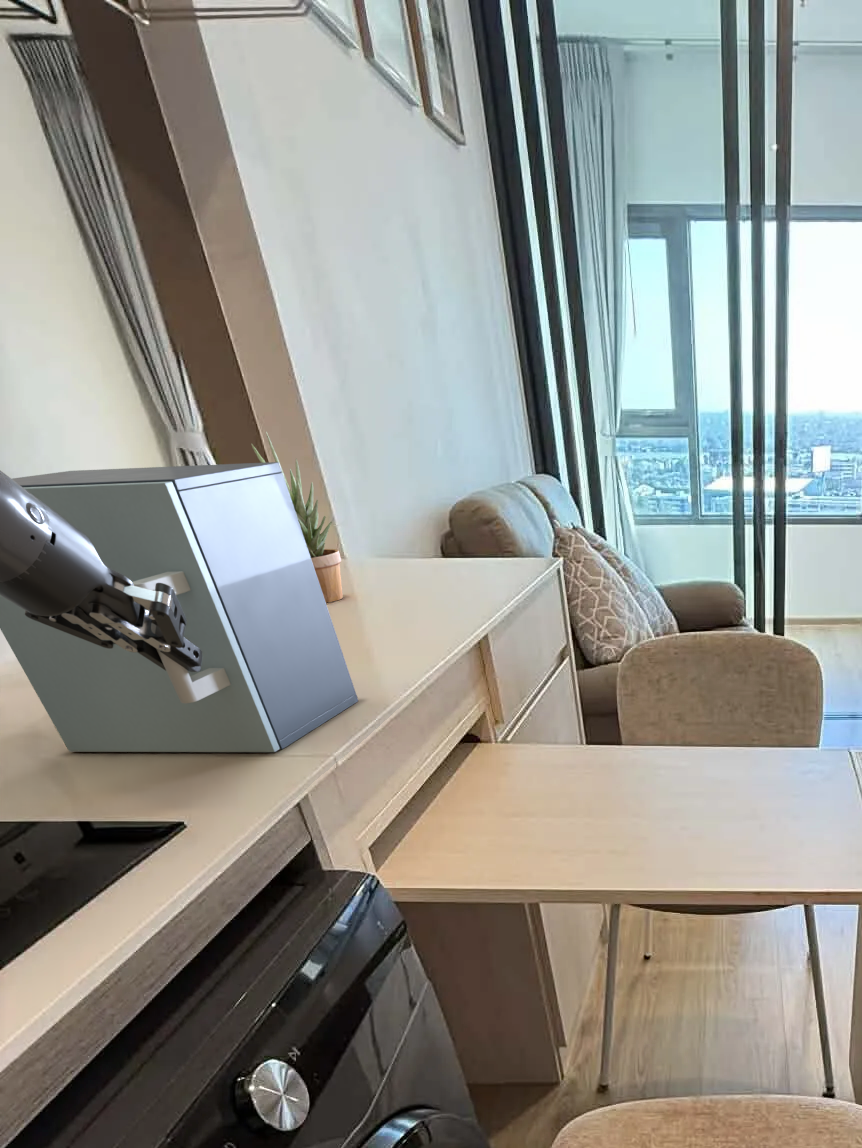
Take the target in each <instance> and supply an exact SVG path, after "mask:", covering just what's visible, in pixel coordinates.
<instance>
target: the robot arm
mask: <svg viewBox="0 0 862 1148" xmlns="http://www.w3.org/2000/svg"><path fill="white" fill-rule="evenodd" d="M0 595H1V596H3V597H4V598H6V599H8V600H9V601H11V602H12V603H14V604H16V605H17V606H19V607H21V608H22V609H24V610H25V615H26V616H27V617H28V618H30V619H33V620H35V621H38V622H40V623H43V624H45V625H48V626H50V627H53V628H55V629H58V630H61V631H63V632H66V633H68V634H71V635H73V636H76V637H78V638H81V639H84V640H86V641H89V642H91V643H94V644H96V645H99V646H101V647H104V648H109V649H112V648H113V645H114V644H117V645H118V646H120V647H121V648H123V649H124V650H126V651H129V652H138V653H139V654H141V655H142V656H144V657H145V658H147V659H148V660H150V661H152V662H153V663H155V664H156V665H158V666H159V667H161V668H162V669H164V670H165V671H166V669H165V667H164V665H163V662H162V660H161V658H160V656H159V654H158V651H157V649H158V650H160V652H161V653H163V654H164V655H166V656H167V657H169V658H170V659H172V660H173V661H175V662H176V663H178V664H179V665H181V666H182V667H184V668H185V669H187V670H188V671H190V672H199V671H200V670H201V663H202V651H201V650H200V649H199V648H198V647H197V646H195V645H194V644H193V643H191V642H190V641H188V640H187V639H186V638H184V632H185V626H186V623H187V620H186V617H185V615H184V613H183V610H182V608H181V606H180V603H179V601H178V599H177V597H176V594H175V592H174V590H173V588H172V587H170V586H168V585H166V584H163V583H156V586H155V590H149V589H145V588H141V587H137V586H134V585H133V583H132V582H131V580H130V579H128V578H127V577H126V576H124V575H122V574H120V573H118V572H116V571H114V570H112V569H110V568H108V567H106V566H105V565H104V564H103V562H102V561H101V559H100V557H99V556H98V554H97V552H96V550H95V548H94V546H93V544H92V543H91V541H90V540H89V539H88V537H87V536H86V535H85V534H83V533H82V532H81V531H80V530H78V529H77V528H76V527H74V526H73V525H72V524H70V523H69V522H68V521H67V520H65V519H64V518H63V517H61V516H60V515H59V514H57V513H56V512H55V511H53V510H52V509H51V508H49V507H48V506H47V505H45V504H44V503H43V502H41V501H40V500H39V499H38V498H36V497H35V496H34V495H32V494H31V493H29V492H28V491H27V490H26V489H24V488H23V487H22V486H20V485H19V484H18V483H16V482H15V481H14V480H12V477H10V476H9V475H7V474H6V473H5V472H3V470H0ZM152 623H153V624H155V625H156V630H155V634H154V633H153V632H152V631H151V624H152ZM84 628H85V629H84Z"/></svg>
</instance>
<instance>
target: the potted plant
mask: <svg viewBox="0 0 862 1148" xmlns="http://www.w3.org/2000/svg"><path fill="white" fill-rule="evenodd" d="M265 434H266V438H267V442H268V444H269V447H270V450H271V455H272V456H273V459H274V462H279V465H280V468H281V471H282V472H281V473H283V476H284V479H285V482H286V485H287V488H288V491H289V494H290V497H291V500H292V503H293V506H294V509H295V512H296V515H297V518H298V521H299V524H300V527H301V530H302V533H303V536H304V539H305V542H306V545H307V548H308V551H309V554H310V557H311V560H312V563H313V566H314V569H315V572H316V575H317V578H318V581H319V584H320V587H321V590H322V593H323V596H324V599H325V602H326V604H328V603H333V602H336V601H340V600H341V599H343V597H344V595H343V586H342V576H341V562H342V556H341V554H340V551H339V549H336V548H325V546H326V540H327V536H328V535H329V534H328V533H329V530H330V528H331V526H332V523H333V522H332V521H330V522H329V523H328V524H327V526H326V527H325V528H324V529H323V526H324V524H325V521H326V518H327V517H326V516H325V515H324V516H323V517H322V519H321V521H320V524H319V512H318V508H319V500H318V499H316V501H315V504H314V491H315V490H314V489H315V488H314V483H313V481H312V482H311V483H310V489H309V495H308V498H307V501H306V502H304V495H303V485H302V479H301V472H300V466H299V462H298V458H296V457H295V476H294V473H293V472H292V469H291V468H290V469H289V476H290V485H289V482H288V480H287V477H286V475H285V472H284V470H283V468H282V465H281V462H280V460H279V457H278V455H277V453H276V451H275V448H274V445H273V443H272V441H271V438H270V436H269V433H268V431H265ZM251 447H252V450H253V451H254V454H255V455H256V457H257V459H258V460H259V463H266V461H265V459H264V458H263V457H262V456H261V454H260V453H259V451H258V450H257V448H256V447H255V446H254V444H251ZM290 486H291V487H290ZM318 524H319V525H318ZM322 529H323V531H322ZM321 531H322V532H321Z"/></svg>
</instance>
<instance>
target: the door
mask: <svg viewBox="0 0 862 1148" xmlns="http://www.w3.org/2000/svg"><path fill="white" fill-rule="evenodd" d="M23 488H24V489H26V490H27V491H28V492H29V493H31V494H32V495H34V496H35V497H36V498H38V499H39V500H40V501H41V502H43V503H44V504H45V505H47V506H48V507H49V508H51V509H52V510H53V511H55V512H56V513H57V514H59V515H60V516H61V517H63V518H64V519H65V520H67V521H68V522H69V523H70V524H72V525H73V526H74V527H76V528H77V529H78V530H80V531H81V532H82V533H83V534H85V535H86V536H87V537H88V539H89V540H90V541H91V543H92V544H93V546H94V548H95V550H96V552H97V554H98V556H99V557H100V559H101V561H102V562H103V564H104V565H105V566H106V567H108V568H110V569H112V570H114V571H116V572H118V573H120V574H122V575H124V576H126V577H127V578H128V579H130V580H131V582H132V583H133V585H134V586H137V587H141V588H145V589H149V590H155V586H156V583H163V584H166V585H168V586H170V587H172V588H173V590H174V592H175V594H176V597H177V599H178V601H179V603H180V606H181V608H182V610H183V613H184V615H185V617H186V620H187V623H186V626H185V632H184V638H186V639H187V640H188V641H190V642H191V643H193V644H194V645H195V646H197V647H198V648H199V649H200V650H201V651H202V663H201V670H200V671H199V672H190V671H188V670H187V669H185V668H184V667H182V666H181V665H179V664H178V663H176V662H175V661H173V660H172V659H170V658H169V657H167V656H166V655H164V654H163V653H161V652H160V650H158V649H157V651H158V654H159V656H160V658H161V660H162V662H163V665H164V667H165V669H166V671H165V670H164V669H162V668H161V667H159V666H158V665H156V664H155V663H153V662H152V661H150V660H148V659H147V658H145V657H144V656H142V655H141V654H139V653H138V652H129V651H126V650H124V649H123V648H121V647H120V646H118V645H117V644H114V645H113V648H112V649H109V648H104V647H101V646H99V645H96V644H94V643H91V642H89V641H86V640H84V639H81V638H78V637H76V636H73V635H71V634H68V633H66V632H63V631H61V630H58V629H55V628H53V627H50V626H48V625H45V624H43V623H40V622H38V621H35V620H33V619H30V618H28V617H27V616H26V615H25V610H24V609H22V608H21V607H19V606H17V605H16V604H14V603H12V602H11V601H9V600H8V599H6V598H4V597H3V596H1V595H0V631H1V633H2V635H3V636H4V638H5V640H6V642H7V643H8V645H9V647H10V649H11V651H12V652H13V654H14V656H15V658H16V660H17V661H18V664H19V665H20V667H21V668H22V670H23V672H24V674H25V676H26V678H27V679H28V680H29V683H30V685H31V686H32V688H33V690H34V692H35V693H36V696H37V697H38V699H39V701H40V702H41V704H42V706H43V708H44V710H45V711H46V713H47V715H48V716H49V719H50V720H51V723H52V724H53V726H54V727H55V729H56V731H57V733H58V735H59V736H60V738H61V740H62V742H63V743H64V745H65V747H66V749H67V751H68V752H69V753H71V752H73V753H75V752H76V753H78V752H79V753H80V752H81V753H127V752H128V753H276V752H278V751H279V750H281V749H280V748H279V745H278V743H277V740H276V738H275V735H274V733H273V730H272V728H271V725H270V723H269V720H268V718H267V715H266V713H265V711H264V708H263V706H262V703H261V701H260V698H259V696H258V693H257V691H256V688H255V686H254V683H253V681H252V678H251V676H250V673H249V671H248V668H247V666H246V663H245V661H244V658H243V656H242V654H241V651H240V649H239V646H238V644H237V641H236V639H235V636H234V634H233V631H232V629H231V626H230V624H229V621H228V619H227V616H226V614H225V611H224V609H223V606H222V604H221V601H220V599H219V597H218V594H217V592H216V589H215V587H214V584H213V582H212V579H211V577H210V574H209V572H208V569H207V567H206V564H205V562H204V559H203V557H202V554H201V552H200V549H199V547H198V544H197V542H196V540H195V537H194V535H193V532H192V530H191V527H190V525H189V522H188V520H187V517H186V515H185V512H184V510H183V507H182V505H181V502H180V500H179V497H178V495H177V492H176V490H175V488H174V485H173V483H172V482H146V483H121V484H96V485H71V486H46V487H23ZM84 629H85V628H84ZM155 630H156V625H155V624H153V623H152V624H151V631H152V632H153V633H154V634H155Z"/></svg>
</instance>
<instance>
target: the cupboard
mask: <svg viewBox="0 0 862 1148" xmlns="http://www.w3.org/2000/svg"><path fill="white" fill-rule="evenodd" d="M279 462H280V461H279ZM279 462H275V461H272V462H271V461H270V462H269V461H267V462H265V463H261V462H248V463H247V462H245V463H223V464H222V463H221V464H201V465H199V464H198V465H197V464H196V465H175V466H173V465H172V466H155V467H154V466H153V467H152V466H151V467H150V466H149V467H129V468H128V467H127V468H106V469H86V470H85V469H83V470H81V469H80V470H66V471H59V472H52V473H44V474H36V475H28V476H21V477H13V478H12V477H11V479H12V480H14V481H15V482H16V483H18V484H19V485H20V486H22V487H46V486H71V485H96V484H121V483H146V482H172V483H173V485H174V488H175V490H176V492H177V495H178V497H179V500H180V502H181V505H182V507H183V510H184V512H185V515H186V517H187V520H188V522H189V525H190V527H191V530H192V532H193V535H194V537H195V540H196V542H197V544H198V547H199V549H200V552H201V554H202V557H203V559H204V562H205V564H206V567H207V569H208V572H209V574H210V577H211V579H212V582H213V584H214V587H215V589H216V592H217V594H218V597H219V599H220V601H221V604H222V606H223V609H224V611H225V614H226V616H227V619H228V621H229V624H230V626H231V629H232V631H233V634H234V636H235V639H236V641H237V644H238V646H239V649H240V651H241V654H242V656H243V658H244V661H245V663H246V666H247V668H248V671H249V673H250V676H251V678H252V681H253V683H254V686H255V688H256V691H257V693H258V696H259V698H260V701H261V703H262V706H263V708H264V711H265V713H266V715H267V718H268V720H269V723H270V725H271V728H272V730H273V733H274V735H275V738H276V740H277V743H278V745H279V748H280V749H279V750H284V749H285V748H287V747H289V746H290V745H291V744H293V743H294V742H296V741H298V740H299V739H301V738H303V737H304V736H306V735H308V734H309V733H311V732H312V731H314V730H315V729H317V728H319V727H320V726H322V725H324V724H325V723H326V722H328V721H330V720H331V719H333V718H334V717H336V716H338V715H339V714H340V713H342V712H344V711H345V710H347V709H349V708H350V707H352V706H353V705H356V703H358V702H359V698H358V695H357V692H356V688H355V686H354V683H353V680H352V677H351V674H350V671H349V668H348V665H347V662H346V659H345V656H344V653H343V650H342V646H341V644H340V641H339V638H338V635H337V633H336V629H335V627H334V624H333V620H332V617H331V614H330V611H329V608H328V604H327V603H326V602H325V599H324V596H323V593H322V590H321V587H320V584H319V581H318V578H317V575H316V572H315V569H314V566H313V563H312V560H311V557H310V554H309V551H308V548H307V545H306V542H305V539H304V536H303V533H302V530H301V527H300V524H299V521H298V518H297V515H296V512H295V509H294V506H293V503H292V500H291V497H290V494H289V491H288V488H287V485H286V482H285V479H284V476H283V473H281V472H282V471H281V468H282V467H281V468H280V465H281V464H280V465H279Z"/></svg>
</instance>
